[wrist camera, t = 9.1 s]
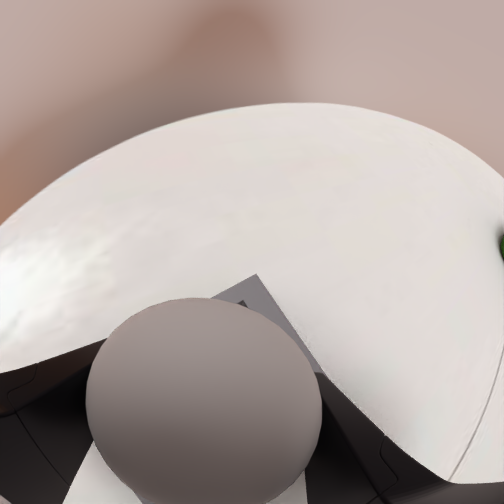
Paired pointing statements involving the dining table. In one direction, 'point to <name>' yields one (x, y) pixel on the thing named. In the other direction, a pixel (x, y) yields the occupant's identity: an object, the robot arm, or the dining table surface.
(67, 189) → the dining table surface
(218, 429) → the lightbulb
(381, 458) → the robot arm
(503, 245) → the bell pepper
